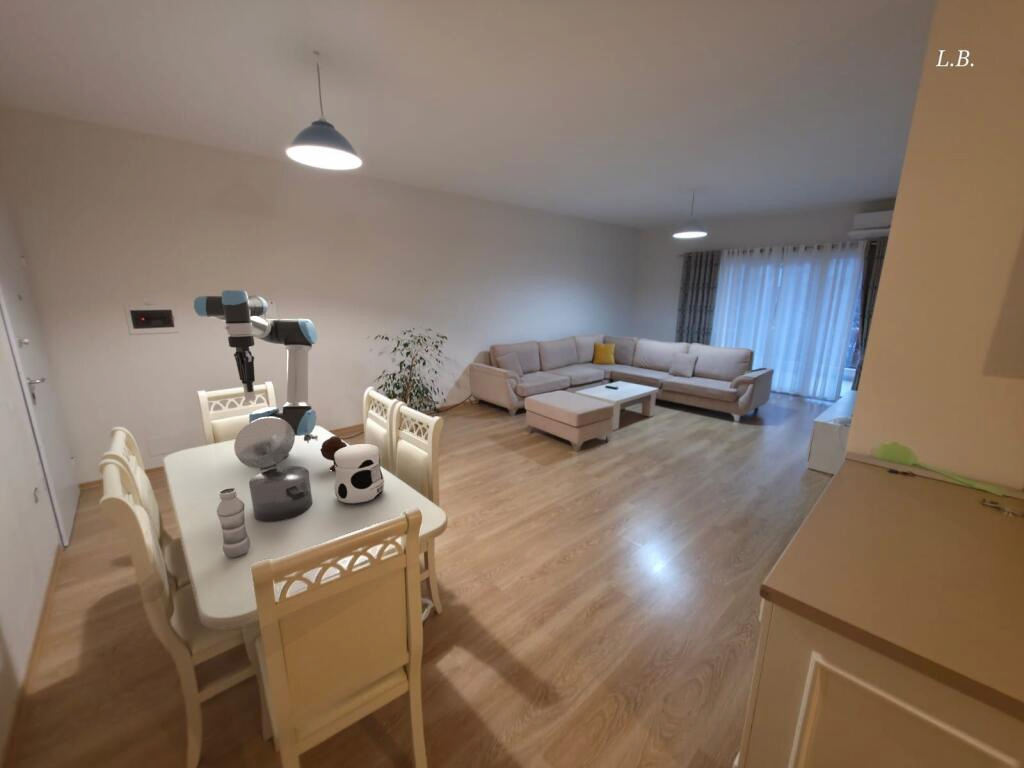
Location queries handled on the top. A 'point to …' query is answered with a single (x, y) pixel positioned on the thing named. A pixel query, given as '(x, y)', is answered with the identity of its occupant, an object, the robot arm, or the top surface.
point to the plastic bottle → (232, 524)
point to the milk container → (358, 474)
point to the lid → (264, 442)
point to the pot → (280, 493)
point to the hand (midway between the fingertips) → (250, 400)
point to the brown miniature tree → (332, 448)
